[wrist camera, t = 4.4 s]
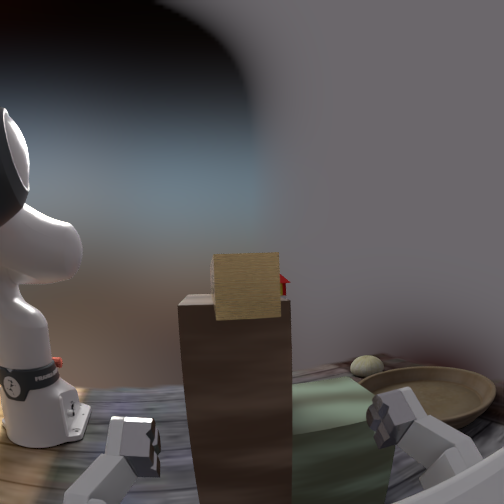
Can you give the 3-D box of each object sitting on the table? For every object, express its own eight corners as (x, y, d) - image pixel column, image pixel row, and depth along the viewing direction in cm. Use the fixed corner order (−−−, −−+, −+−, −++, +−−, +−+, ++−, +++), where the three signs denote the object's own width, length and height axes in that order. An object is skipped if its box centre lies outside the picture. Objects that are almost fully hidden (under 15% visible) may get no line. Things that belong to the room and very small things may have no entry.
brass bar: (211, 293, 34) (210, 265, 34) (239, 292, 35) (238, 264, 35) (216, 320, 14) (213, 254, 15) (281, 316, 15) (278, 252, 15)
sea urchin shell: (368, 375, 73) (354, 350, 78) (353, 389, 78) (341, 366, 83) (392, 366, 76) (378, 344, 82) (377, 381, 81) (365, 359, 87)
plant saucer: (462, 375, 64) (464, 358, 64) (517, 423, 34) (523, 400, 34) (348, 387, 72) (348, 370, 72) (354, 452, 42) (356, 428, 42)
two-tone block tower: (207, 496, 32) (187, 294, 34) (340, 478, 35) (347, 286, 36) (211, 558, 20) (177, 305, 22) (377, 527, 23) (405, 290, 24)
